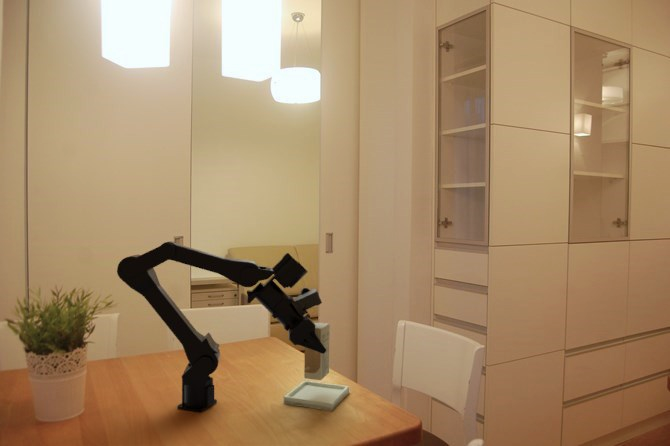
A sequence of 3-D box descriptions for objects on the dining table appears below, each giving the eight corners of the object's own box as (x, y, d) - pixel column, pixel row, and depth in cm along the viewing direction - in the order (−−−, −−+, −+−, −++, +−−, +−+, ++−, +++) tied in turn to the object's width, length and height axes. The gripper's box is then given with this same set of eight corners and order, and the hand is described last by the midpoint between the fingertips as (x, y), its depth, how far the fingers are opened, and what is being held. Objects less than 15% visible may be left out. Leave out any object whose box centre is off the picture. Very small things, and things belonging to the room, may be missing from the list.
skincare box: (313, 371, 115) (313, 321, 115) (329, 373, 113) (330, 323, 114) (303, 379, 109) (303, 326, 109) (320, 381, 107) (321, 328, 108)
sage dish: (283, 403, 108) (283, 396, 108) (304, 386, 119) (304, 380, 119) (331, 410, 104) (331, 403, 104) (349, 392, 115) (349, 386, 115)
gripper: (305, 283, 101) (354, 332, 103) (298, 273, 120) (339, 315, 122) (268, 319, 100) (318, 369, 102) (267, 304, 118) (309, 346, 120)
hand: (322, 347), depth 111 cm, fingers closed on skincare box, 7 cm apart
